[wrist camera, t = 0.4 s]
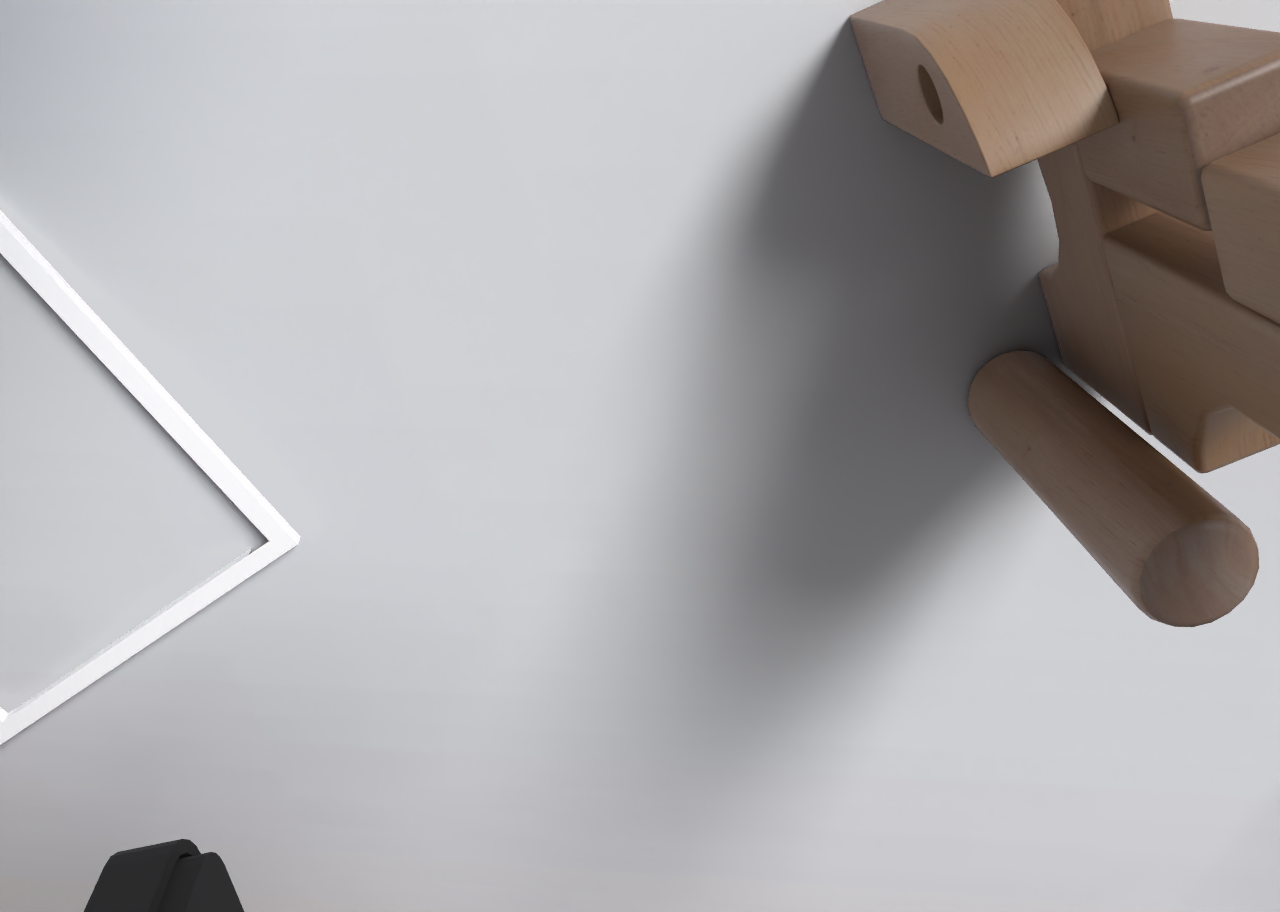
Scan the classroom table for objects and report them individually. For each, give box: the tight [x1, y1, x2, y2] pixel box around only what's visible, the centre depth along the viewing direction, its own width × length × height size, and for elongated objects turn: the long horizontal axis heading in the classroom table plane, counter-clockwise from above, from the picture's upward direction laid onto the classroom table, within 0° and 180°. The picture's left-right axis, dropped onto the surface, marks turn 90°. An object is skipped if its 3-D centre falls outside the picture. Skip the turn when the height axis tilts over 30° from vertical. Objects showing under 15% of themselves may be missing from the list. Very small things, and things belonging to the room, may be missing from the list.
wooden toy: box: [849, 0, 1280, 627], centre depth 27 cm, size 16×7×25 cm, turn 23°
